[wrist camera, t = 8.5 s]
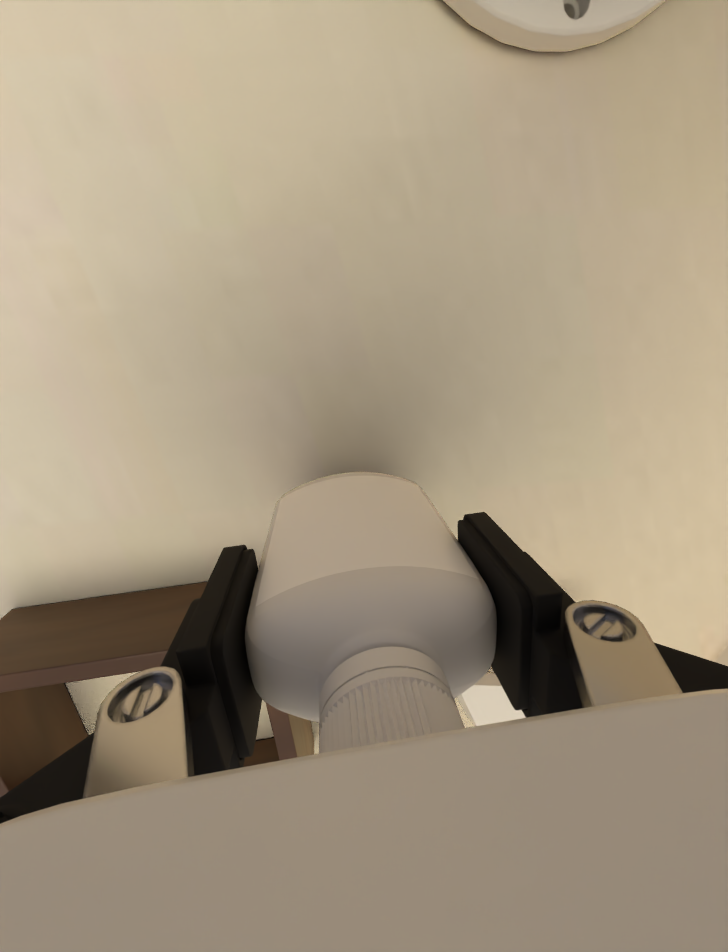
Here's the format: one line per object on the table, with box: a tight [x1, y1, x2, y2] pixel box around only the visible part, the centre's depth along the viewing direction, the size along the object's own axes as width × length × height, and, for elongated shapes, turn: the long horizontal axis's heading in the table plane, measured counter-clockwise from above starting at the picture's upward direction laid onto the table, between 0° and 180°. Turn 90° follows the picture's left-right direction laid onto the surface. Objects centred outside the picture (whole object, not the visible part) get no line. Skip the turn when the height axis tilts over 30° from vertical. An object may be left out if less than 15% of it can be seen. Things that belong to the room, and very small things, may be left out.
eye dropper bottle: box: [245, 472, 497, 753], centre depth 10 cm, size 4×6×12 cm
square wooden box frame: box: [0, 582, 314, 797], centre depth 19 cm, size 12×13×4 cm
